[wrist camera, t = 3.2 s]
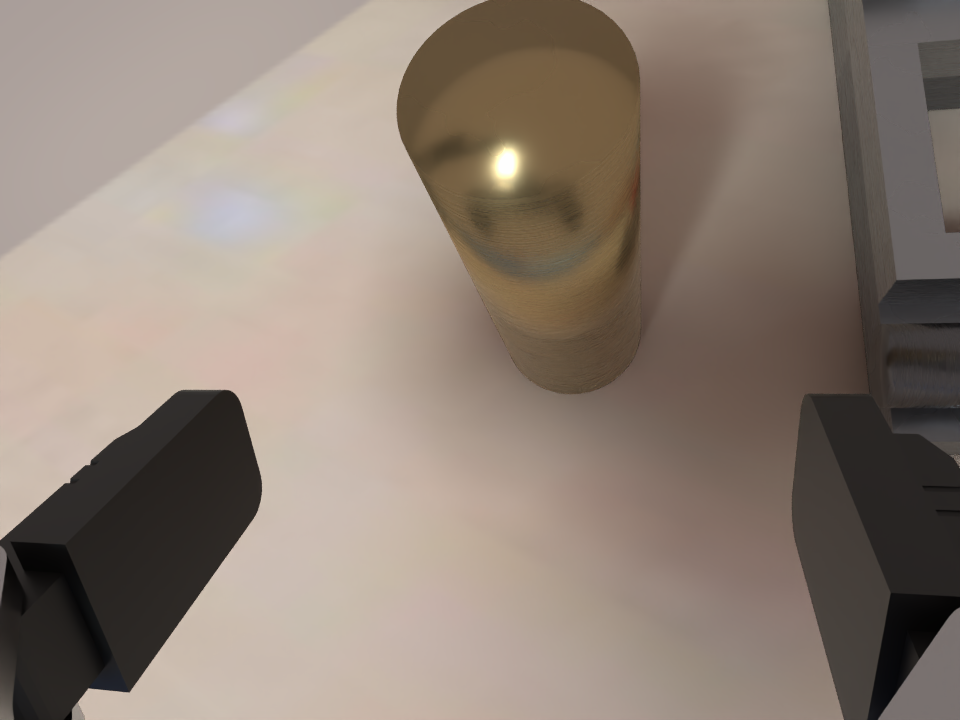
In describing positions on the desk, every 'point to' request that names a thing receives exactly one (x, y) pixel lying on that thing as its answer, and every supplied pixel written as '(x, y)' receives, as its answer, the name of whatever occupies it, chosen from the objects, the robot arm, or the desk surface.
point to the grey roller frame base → (902, 205)
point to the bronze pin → (537, 177)
